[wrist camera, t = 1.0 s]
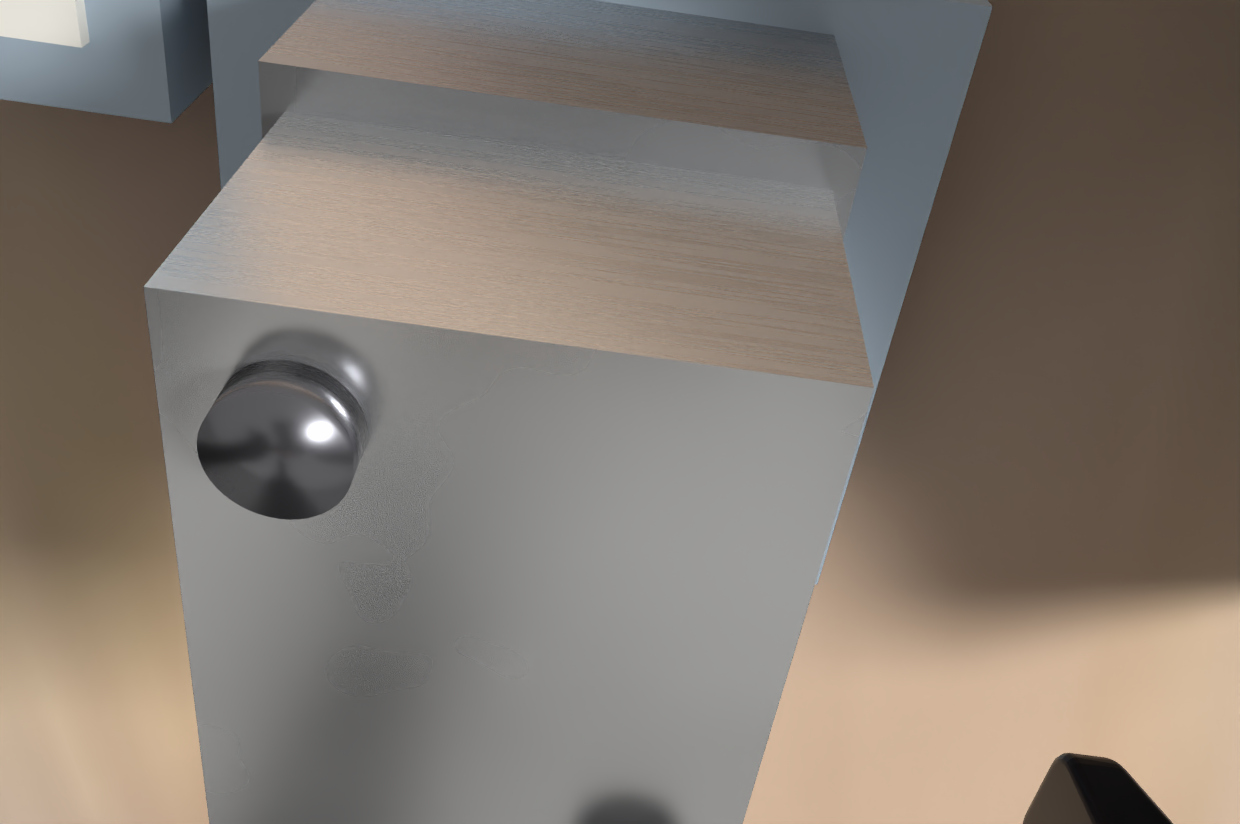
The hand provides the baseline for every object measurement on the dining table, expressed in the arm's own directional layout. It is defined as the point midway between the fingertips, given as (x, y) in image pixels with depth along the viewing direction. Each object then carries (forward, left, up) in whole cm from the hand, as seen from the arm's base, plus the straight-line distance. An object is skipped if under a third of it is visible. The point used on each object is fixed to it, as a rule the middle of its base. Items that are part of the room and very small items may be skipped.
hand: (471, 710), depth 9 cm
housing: (0, 0, -6) cm, 6 cm away
